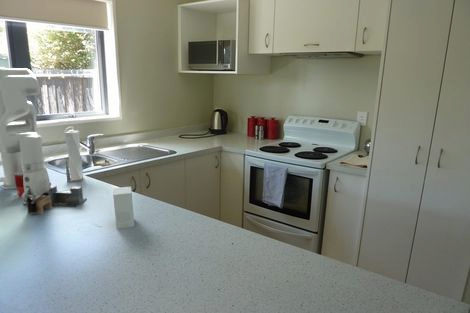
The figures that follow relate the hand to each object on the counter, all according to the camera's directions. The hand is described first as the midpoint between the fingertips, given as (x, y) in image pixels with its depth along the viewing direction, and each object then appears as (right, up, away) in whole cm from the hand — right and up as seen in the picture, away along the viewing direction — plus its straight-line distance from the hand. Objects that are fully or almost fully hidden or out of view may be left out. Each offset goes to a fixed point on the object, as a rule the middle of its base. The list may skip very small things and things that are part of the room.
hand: (39, 207), depth 141 cm
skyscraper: (-5, +9, +43) cm, 44 cm away
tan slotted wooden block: (0, -1, 0) cm, 1 cm away
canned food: (-17, +3, +20) cm, 27 cm away
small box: (+39, -4, -13) cm, 41 cm away
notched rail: (+2, +1, +9) cm, 10 cm away
